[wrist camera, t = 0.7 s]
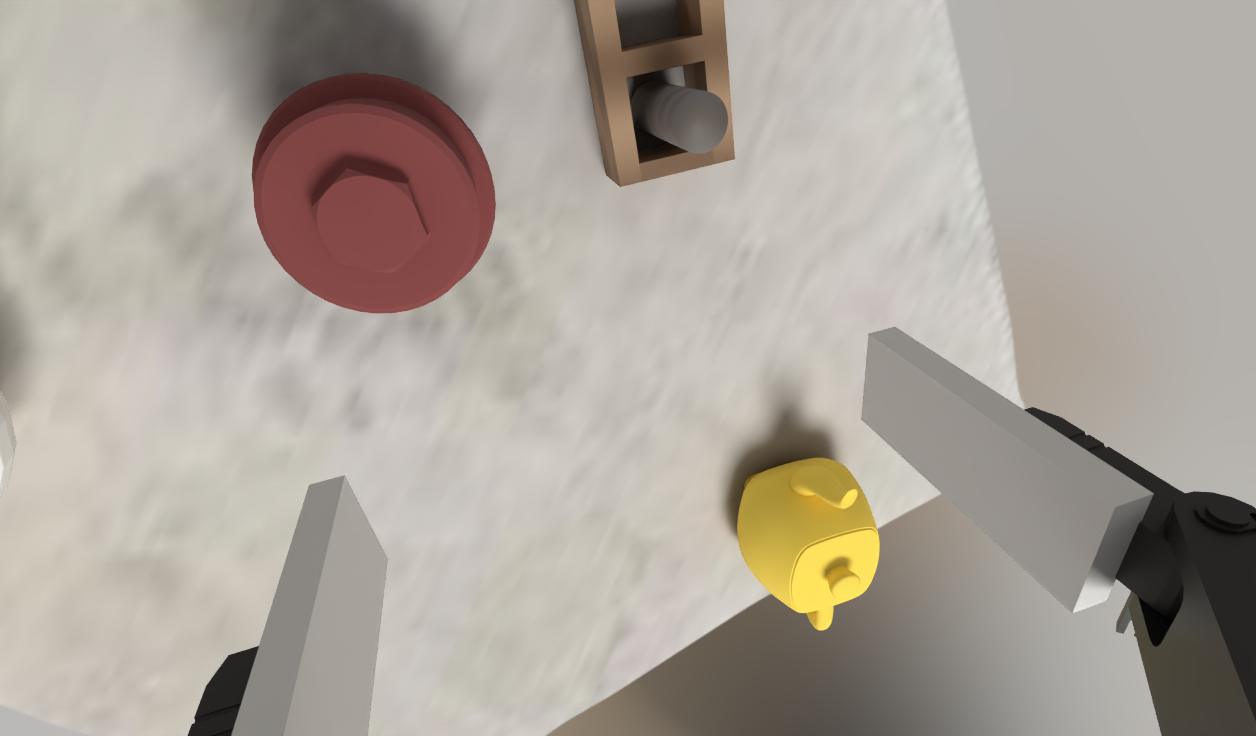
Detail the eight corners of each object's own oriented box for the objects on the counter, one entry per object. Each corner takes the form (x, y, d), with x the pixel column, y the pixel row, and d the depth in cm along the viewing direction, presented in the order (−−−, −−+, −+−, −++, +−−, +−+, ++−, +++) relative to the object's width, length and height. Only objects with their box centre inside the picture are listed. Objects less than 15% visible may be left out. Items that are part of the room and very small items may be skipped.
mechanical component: (287, 230, 33) (303, 37, 29) (467, 269, 37) (503, 103, 33) (212, 317, 23) (222, 35, 19) (474, 360, 26) (528, 131, 22)
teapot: (723, 426, 48) (786, 515, 39) (843, 396, 50) (929, 474, 41) (726, 574, 57) (778, 674, 48) (827, 544, 59) (896, 634, 50)
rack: (562, -63, 30) (595, -93, 23) (690, -86, 31) (758, -121, 24) (606, 175, 36) (642, 205, 29) (712, 149, 37) (770, 173, 30)
